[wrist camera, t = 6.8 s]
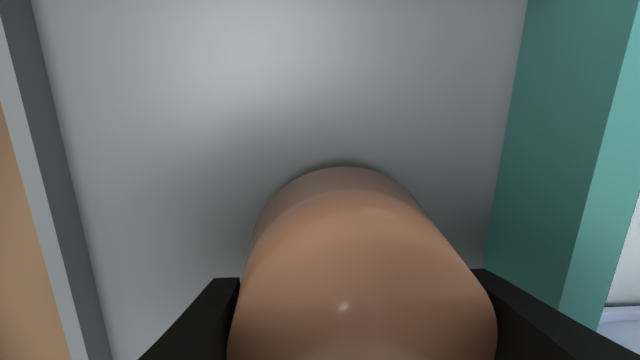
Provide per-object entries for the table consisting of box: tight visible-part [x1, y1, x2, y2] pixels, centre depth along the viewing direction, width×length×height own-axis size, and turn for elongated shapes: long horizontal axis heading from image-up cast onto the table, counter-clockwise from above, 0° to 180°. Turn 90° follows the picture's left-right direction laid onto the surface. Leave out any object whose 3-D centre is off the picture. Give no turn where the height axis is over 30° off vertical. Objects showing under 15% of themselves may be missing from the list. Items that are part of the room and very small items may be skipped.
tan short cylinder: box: [226, 167, 498, 360], centre depth 9 cm, size 5×5×4 cm
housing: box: [0, 102, 72, 360], centre depth 11 cm, size 15×19×4 cm
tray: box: [0, 0, 640, 360], centre depth 11 cm, size 15×16×4 cm
